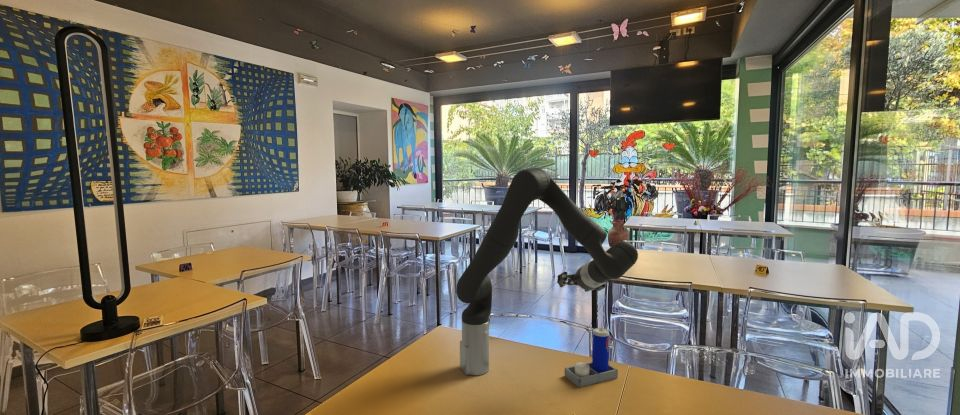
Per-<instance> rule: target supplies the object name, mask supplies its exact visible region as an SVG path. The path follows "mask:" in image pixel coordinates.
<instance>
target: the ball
mask: <svg viewBox="0 0 960 415" xmlns="http://www.w3.org/2000/svg"><path fill="white" fill-rule="evenodd" d="M587 363H588V362H583V361H582V362H581V361H579V362H576V363H574V366H575V374H576V375H577V376H578V377H579V378H581V377H585V376H589V371H590V366H589V365H588V364H587Z"/></svg>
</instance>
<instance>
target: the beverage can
mask: <svg viewBox="0 0 960 415" xmlns="http://www.w3.org/2000/svg"><path fill="white" fill-rule="evenodd" d="M591 356H592V358H591V362H592V369H593V370H595V371H596V372H597V373H602V372H606V371H608V367H609V364H610V363H609V360H610V359H609V358H610V332H609V330H608V329H607V328H603V327H595V328H594V329H593V331H592V354H591Z"/></svg>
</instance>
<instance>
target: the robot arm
mask: <svg viewBox="0 0 960 415" xmlns="http://www.w3.org/2000/svg"><path fill="white" fill-rule="evenodd" d="M537 200H538V201H540V202H542V203H543V204H545V205H546V206H548V208H550V209H551V210H552V211H553V212H554V213H555V215H556V216H557V217H558V219H559V221H560V222H561V224H562V226H563V228H564V229H565V230H566V232H568V234H569V235H570V236H571V237H572V238H573V239H574V240H575V241H577V242H578V243H579V245H581V246H582V247H583V248H584V249H585V250H586V251H587V253H588V254H589V255H590V257H591V259H592V260H590V261H588V262H586V263H585V264H583V265H582V266H580V267H579V268H577V270H576V272H575V273H573V274H568V272H567V271H563V272H562V273H560V274H558V275H557V279H556V280H557V281H556V282H557V284H558V286H559V288H564V287H565V286H569V287H580V288H581V289H583V290H584V292H586V293H587V292H589V291H594V290H596V291H598V292H600V291H602V290H603V289H605V288H606V287H607V286H606V285H607V282H608V281H610V280H618V279H620V278H622V276H624V275H625V274H626V273H627V272H628V271H629V270H630V269H631V268H632V267H633V266H634V265H635V264H636V263H637V262H638V258H639V253H638V250H637V248H636V247H635V245H633V244H632V243H630V241H629V242H628V241H626V240H625V241H623V240H622V241H617V242H615V243H614V244H612V246H610V247H609V248H608V249H606V250H605V249H604V247H603V243H604V242H605V240H606V239H607V237H608V232H606V230H605V229H604V228H603V227H602V226H600V225H599V224H598V223H597V222H596V221H595V220H593V219H592V218H591V217H590V216H589V215H588V214H586V212H584V211H583V210H582V209H581V208H580V207H578V205H576V204H575V202H574V201H573V200H572V199H571V198H570V197H569V196H568V195H567V194H566V192H564V191H563V190H562V188H561V187H560V185H559V184H558V183H557V182H556V180H554V178H553V177H552V176H551V175H550V174H549V173H548V172H547V171H546V170H544V169H543V168H541V167H540V168H539V167H531V168H525V169H522V170H519V171H518V172H517V173H515V175H514V176H513V178H512V179H511V181H510V183H509V186H508V189H507V191H506V194H505V196H504V199H503V201H502V204H501V206H500V208H499V209H498V212H497V213H496V214H495V216H494V219H493V221H492V222H491V224H490V225H489V227H488V229H487V232H486V234H485V235H484V237H483V239H482V241H481V242H480V245H479V247H478V248H477V250H476V252H475V253H474V255H473V257H472V260H471V261H470V263H469V264H468V265H467V267H466V269H464V271H463V272H462V274H461V275H460V277H459V279H458V280H457V283H456V287H455V291H456V296H457V298H458V300H459V301H460V302H462V303H463V304H468V305H467V307H465V308H464V309H463V311H462V313H461V340H460V341H459V368H460V369H461V371H462V372H463V373H464V375H465V376H481V375H484V374H486V373H488V372H489V370H490V315H491V313H492V306H493V305H492V304H493V303H492V302H493V283H492V281H491V278H490V276H489V275H490V273H491V272H492V271H493V270H494V269H496V268H497V267H498V266H499V265H500V264H501V263H502V262H503V261H504V260H505V259H506V258H507V257H508V256H509V254H510V253H511V251H512V249H513V247H514V245H515V243H516V242H517V240H518V238H519V237H518V236H519V232H520V224H521V219H522V217H523V215H524V214H525V212H526V211H527V209H528V208H529V207H530V205H531V204H532V202H533V201H537Z"/></svg>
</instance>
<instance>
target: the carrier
mask: <svg viewBox="0 0 960 415" xmlns="http://www.w3.org/2000/svg"><path fill="white" fill-rule="evenodd" d="M586 363H587V364H588V365H589V366H590V371H589V376H585V377H581V378H579V377H578V376H577V375H576V374H575V365H572V366H567V367H564V377H566V378H567V379H568V380H569V381H570V382H572V383H573V384H574V385H575V386H576V387H578V388H583V387H587V386H591V385H595V384H599V383H603V382H607V381H610V380H614V379H618V375H619V369H617V368H616V367H614V366H613V365H611V364H610V363H609V367H608V371H606V372H602V373H597V372H596V371H595V370H593V369H592V361H589V362H586Z"/></svg>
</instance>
